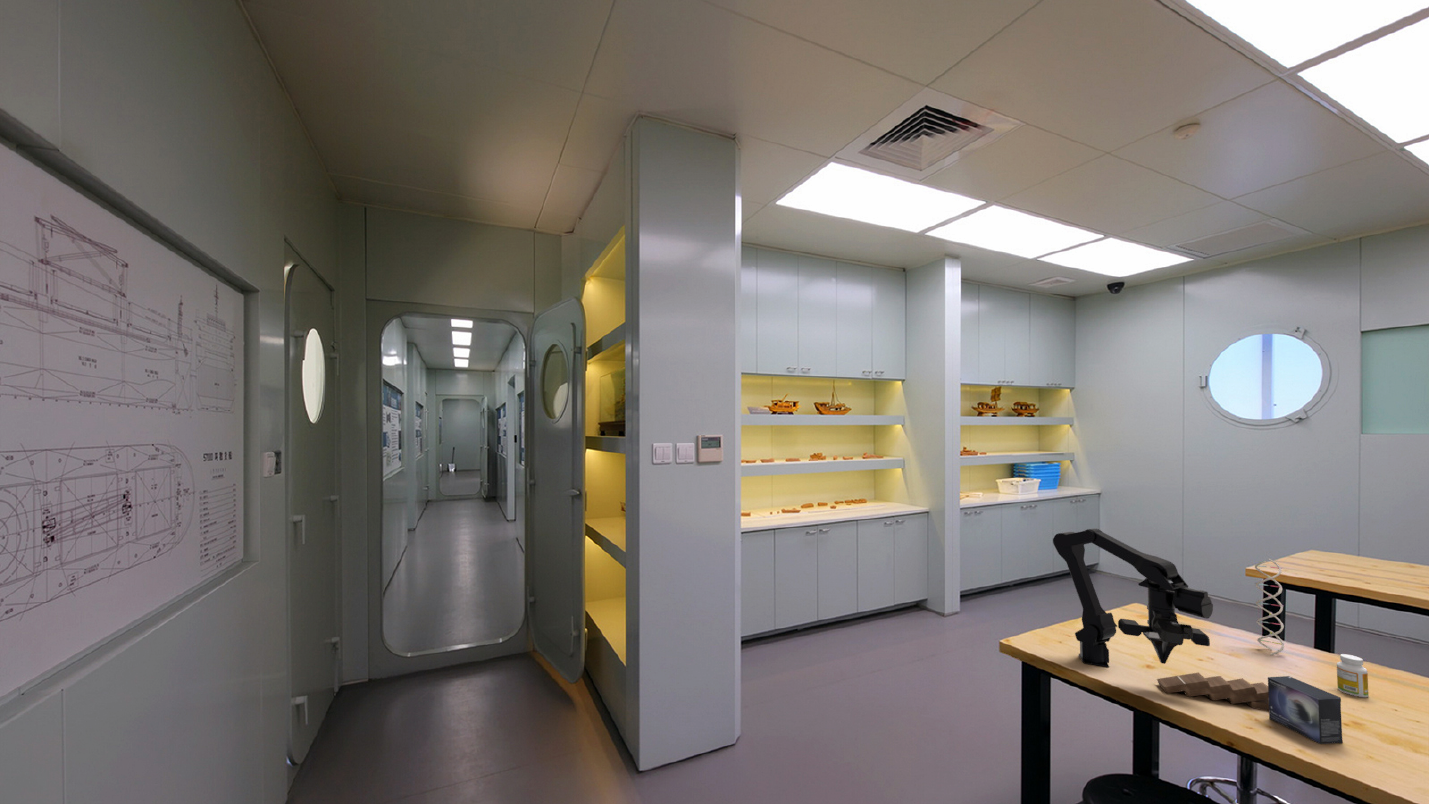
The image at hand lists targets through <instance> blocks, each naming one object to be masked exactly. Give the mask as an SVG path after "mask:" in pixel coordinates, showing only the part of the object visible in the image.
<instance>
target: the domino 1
mask: <svg viewBox="0 0 1429 804" xmlns="http://www.w3.org/2000/svg"><path fill="white" fill-rule="evenodd" d="M1205 678H1206V677H1204V676H1203V675H1202V674H1201V673H1200V672H1194V673H1193V672H1192V673H1187V674H1181V675H1173V676H1167V677H1162V678H1161V677H1160V678H1156V680H1157V683H1158V685H1159V686H1160V688H1162V690H1163V691H1164V692H1165V693H1166V694H1171V693H1177V692H1183V691H1185V690H1192V689H1199V688H1206V687H1210V685H1209V683H1208V681H1207V680H1206V679H1205Z"/></svg>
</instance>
